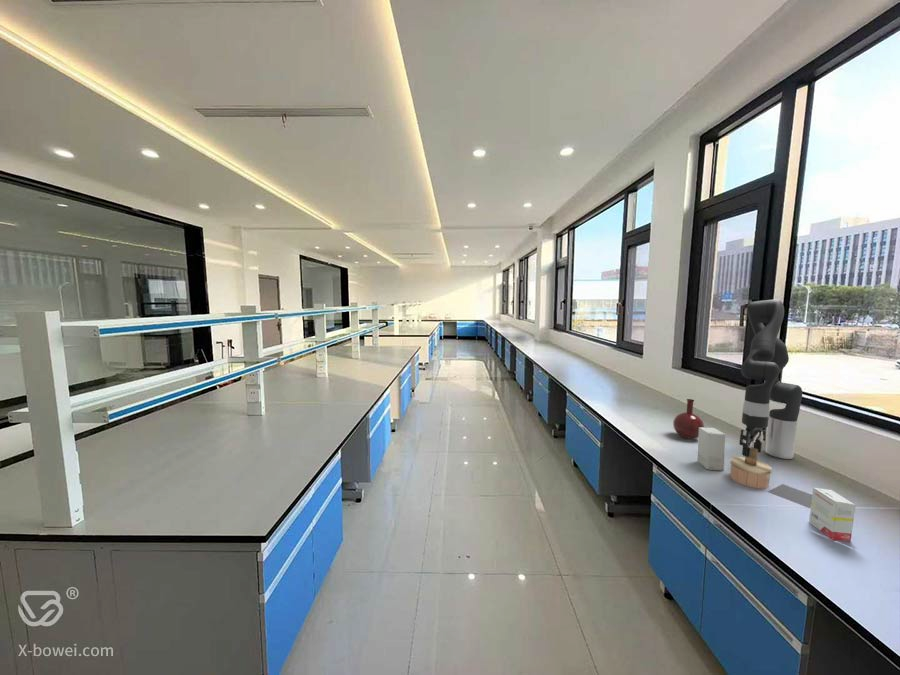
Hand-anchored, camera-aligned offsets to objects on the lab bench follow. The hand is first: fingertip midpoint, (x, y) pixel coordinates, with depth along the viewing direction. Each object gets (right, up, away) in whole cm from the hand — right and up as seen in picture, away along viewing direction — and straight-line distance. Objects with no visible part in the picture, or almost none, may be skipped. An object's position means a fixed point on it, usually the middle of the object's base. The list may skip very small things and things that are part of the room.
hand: (751, 453), depth 133 cm
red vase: (+6, -7, +44) cm, 45 cm away
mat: (+8, -12, -9) cm, 17 cm away
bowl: (0, -11, +1) cm, 11 cm away
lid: (0, -5, +1) cm, 5 cm away
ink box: (-1, -14, -28) cm, 32 cm away
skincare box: (-6, -10, +14) cm, 18 cm away
